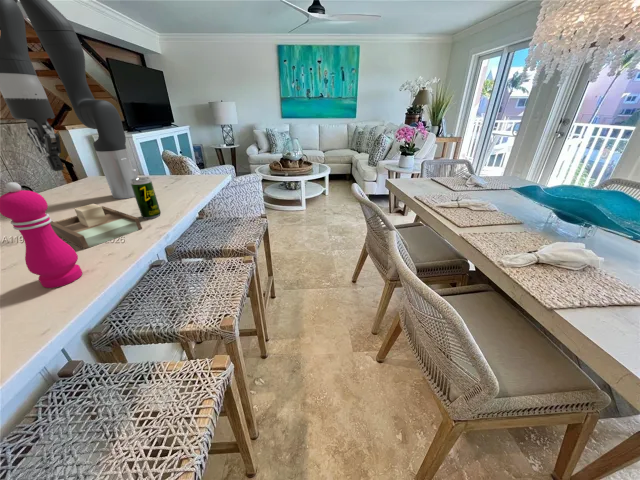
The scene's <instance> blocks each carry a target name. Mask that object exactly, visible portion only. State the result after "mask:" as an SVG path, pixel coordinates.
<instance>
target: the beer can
mask: <svg viewBox="0 0 640 480" xmlns="http://www.w3.org/2000/svg"><path fill="white" fill-rule="evenodd" d="M131 186H132V189H133V192H134V195H135V197H134V198H135V201H136V204H137V207H138V211H139V213H140V216H141V217H142V218H143V219H144V220H153V219H156V218H159V217H161V215H162V214H161V213H162V212H161V208H160V205H159V202H158V198H157V195H156V192H155V189H154V185H153V182H152V180H151V178H150V177H149V176H138V178H134V179H131Z"/></svg>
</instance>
